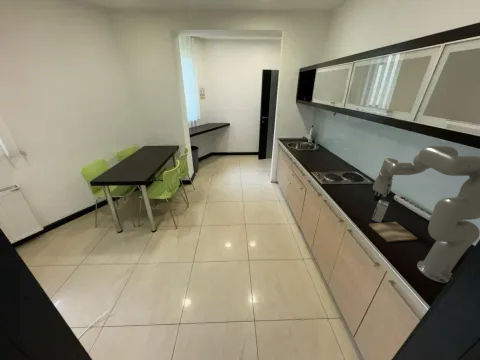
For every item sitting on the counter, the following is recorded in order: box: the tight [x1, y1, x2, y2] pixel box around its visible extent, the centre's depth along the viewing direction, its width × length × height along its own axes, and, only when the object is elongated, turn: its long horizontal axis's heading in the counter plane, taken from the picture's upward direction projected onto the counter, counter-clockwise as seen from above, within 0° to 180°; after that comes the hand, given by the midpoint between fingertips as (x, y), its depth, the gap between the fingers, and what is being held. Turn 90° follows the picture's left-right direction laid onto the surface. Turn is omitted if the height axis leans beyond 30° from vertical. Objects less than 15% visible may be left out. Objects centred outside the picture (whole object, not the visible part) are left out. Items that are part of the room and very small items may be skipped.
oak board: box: [368, 221, 418, 243], centre depth 127 cm, size 16×20×1 cm
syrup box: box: [371, 199, 390, 223], centre depth 135 cm, size 6×6×14 cm
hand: (376, 200), depth 138 cm, fingers closed
